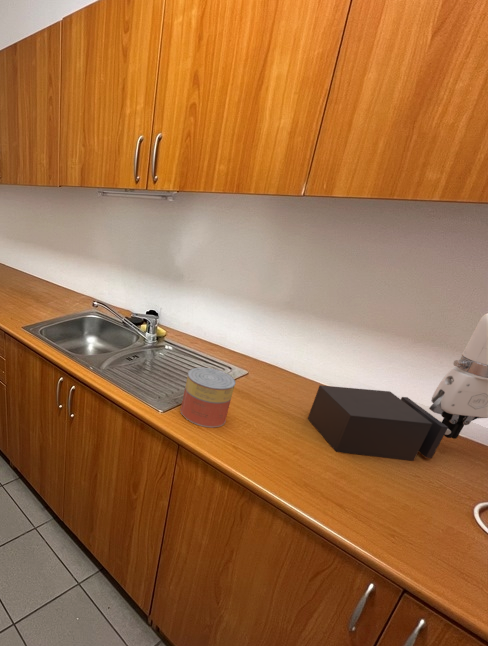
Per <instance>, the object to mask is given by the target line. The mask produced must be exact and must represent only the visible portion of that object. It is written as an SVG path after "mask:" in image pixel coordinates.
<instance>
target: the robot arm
mask: <svg viewBox="0 0 488 646" xmlns="http://www.w3.org/2000/svg"><path fill="white" fill-rule="evenodd" d="M452 364H453V367H451V369H450V370H448V372H447V373H446V374H445V376H444V377H443V378H442V380H441V381H440V382H439V383H438V385H437V387H436V388H435V390H434V392H433V395H432V396H431V403H432V404H431V405H430V406H429V408H428V410H430V411H431V412H433V413H435V414H437V415H441V417H442V418H443V419H442V420H441V422H442V423H443V424H444V425H446V426H447V427H448V429H449V430H451V433H450V434H449V435H445V434H444V436H443V437H445V438H447V439H453V440H454V439H455V440H456V439H458V437H459V436H460V434H461V432H462V430H463V428H464V427H465V426H468V425H470V424H471V422H472V421H476V420H477V419H488V312H487V313H485V314H483V315H482V316H481V317H480V319H479V320H478V323H477V324H476V327H475V329H474V331H473V332H472V334H471V336H470V338H469V340H468V342H467V344H466V346H465V348H464V350H463V351H462V353H461V355H460V357H459V359H458V360H457V359H456V360H453V363H452Z"/></svg>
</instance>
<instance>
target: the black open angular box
mask: <svg viewBox="0 0 488 646" xmlns="http://www.w3.org/2000/svg"><path fill="white" fill-rule="evenodd" d="M400 399H401V400H402V401H403V402H405V403H406V404H407V405H409V406H410V407H411V408H413V409H414V410H415V411H417V412H418V413H419V414H420V415H422V416H423V417H424V418H426V419H427V420H428V421H430V422H431V423H432V426H431V428H430V430H429V432H428V434H427V436H426V438H425V440H424V442H423V443H422V445H421V447H420V449H419V451H418V453H420V454H421V455H422V456H423V457H424V458H425V459H432V458H433V457H434V456H435V453H436V451H437V449H438V448H439V446H440V444H441V442H442V440H443V438H444V437H445V436H444V434H445V435H449V434H450V433H451V430H449V429H448V427H447V426H446V425H444V424H443V423H442V421H440V420H439V419H438V418H436V417H435V416H434V415H432V414H431V413H430V412H428V411H427V410H426V409H424V408H423V407H422V406H420V405H418V404H417V403H416V402H415V401H413V400H412V399H411V398H409V397H408V396H401V398H400Z"/></svg>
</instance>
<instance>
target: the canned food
mask: <svg viewBox="0 0 488 646" xmlns="http://www.w3.org/2000/svg"><path fill="white" fill-rule="evenodd" d="M235 386H236V380H235V378H234V377H232V376H231V375H230V374H228V373H227V372H226V371H225V372H224V371H223V370H219V369H216V368H212V367H202V366H199V367H193V368H191V369H189V370H188V371H187V377H186V380H185V387H184V391H183V396H182V400H181V406H180V409H179V412H180V411H181V412H180V414H181V416H182V415H183V416H184V417H185V418H186V421H188V420H189V422H190V423H192V424H194V425H196V426H199V427H203V428H220V427H222V426H224V425H225V424H226V422H227V416H228V413H229V409H230V405H231V401H232V398H233V394H234V389H235ZM183 416H182V417H183ZM184 417H183V418H184ZM185 418H184V419H185Z"/></svg>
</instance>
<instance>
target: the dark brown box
mask: <svg viewBox="0 0 488 646" xmlns="http://www.w3.org/2000/svg"><path fill="white" fill-rule="evenodd" d="M307 420H308V421H309V422H310V424H311V425H312V426H313V427H314V428H315V429H316V430H317V431H318V433H319V434H320V435H321V436H322V437H323V439H324V440H325V441H326V442H327V443H328V444H329V446H330V447H331V448H332V449H333V450H334V452H336V453H342V454H349V455H350V454H351V455H359V456H368V457H377V458H385V459H392V460H393V459H394V460H401V461H411V462H414V461H415V459H416V458H417V455H418V453H419V449H420V447H421V445H422V443H423V442H424V440H425V438H426V436H427V434H428V432H429V430H430V428H431V426H432V423H431V422H430V421H428V420H427V419H426V418H424V417H423V416H422V415H420V414H419V413H418V412H417V411H415V410H414V409H413V408H411V407H410V406H409V405H407V404H406V403H405V402H403V401H402V400H401V398H399V396H397V395H395V393H393V392H392V391H390V390H377V389H365V388H357V387H355V388H353V387H345V386H344V387H343V386H333V385H322V384H319V385H318V389H317V391H316V395H315V397H314V399H313V402H312V405H311V408H310V411H309V413H308V416H307Z"/></svg>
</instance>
